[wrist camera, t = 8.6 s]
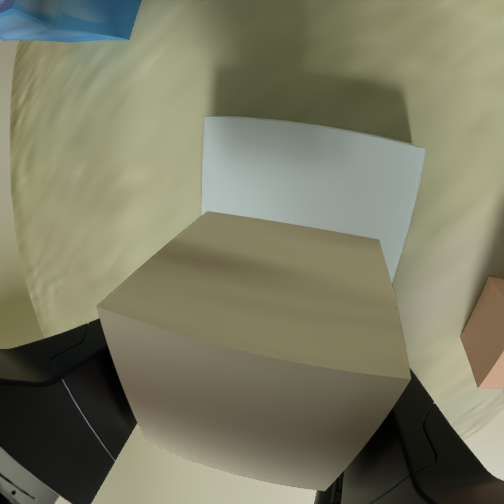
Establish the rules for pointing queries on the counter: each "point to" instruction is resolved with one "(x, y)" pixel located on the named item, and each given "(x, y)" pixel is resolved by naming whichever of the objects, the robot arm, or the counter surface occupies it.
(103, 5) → the perfume bottle
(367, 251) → the birch cube
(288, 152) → the blue-grey slab
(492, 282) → the terracotta cube
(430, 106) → the counter surface
